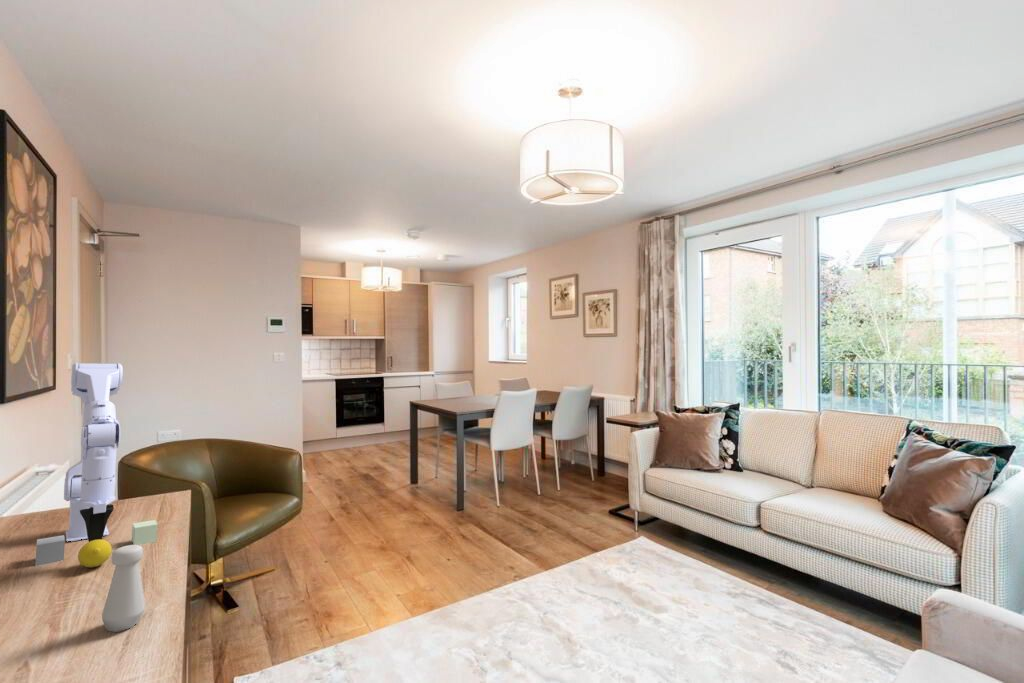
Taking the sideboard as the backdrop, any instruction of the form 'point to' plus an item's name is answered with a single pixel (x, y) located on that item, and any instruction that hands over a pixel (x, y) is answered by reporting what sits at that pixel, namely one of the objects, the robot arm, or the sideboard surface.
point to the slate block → (50, 550)
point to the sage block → (144, 532)
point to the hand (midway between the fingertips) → (95, 541)
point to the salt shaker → (125, 590)
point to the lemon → (94, 553)
